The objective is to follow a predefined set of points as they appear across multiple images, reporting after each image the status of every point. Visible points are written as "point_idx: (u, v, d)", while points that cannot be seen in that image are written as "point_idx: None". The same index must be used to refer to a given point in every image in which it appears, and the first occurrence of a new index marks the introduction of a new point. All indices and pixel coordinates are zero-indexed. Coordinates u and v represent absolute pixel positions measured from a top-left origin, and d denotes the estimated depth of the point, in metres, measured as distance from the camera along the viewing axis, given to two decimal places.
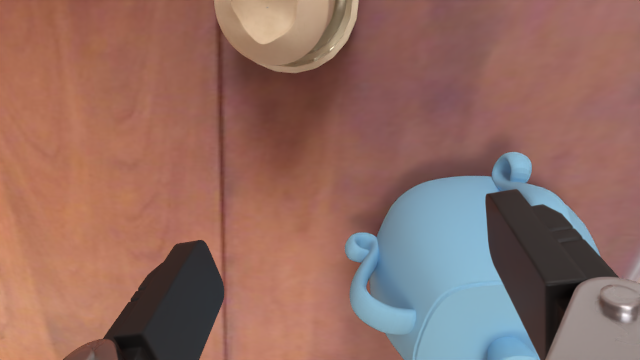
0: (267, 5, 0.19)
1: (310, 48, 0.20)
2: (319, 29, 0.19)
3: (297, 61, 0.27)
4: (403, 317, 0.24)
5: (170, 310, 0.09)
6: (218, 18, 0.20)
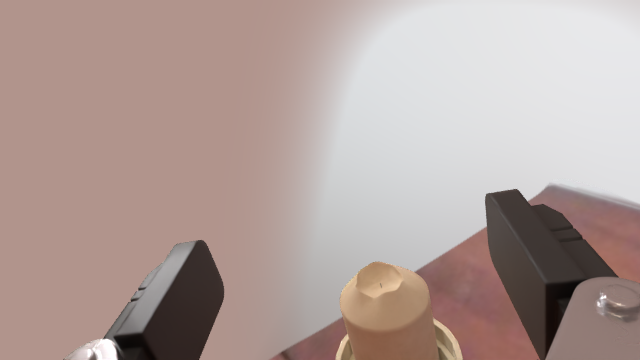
0: (380, 287, 0.25)
1: (427, 290, 0.24)
2: (419, 278, 0.25)
3: None
4: None
5: (170, 310, 0.09)
6: (357, 323, 0.23)
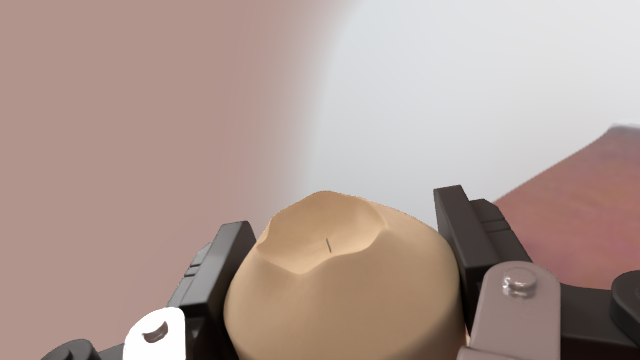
0: (327, 251, 0.09)
1: (453, 258, 0.09)
2: (431, 229, 0.10)
3: None
4: None
5: (226, 284, 0.10)
6: (252, 350, 0.08)
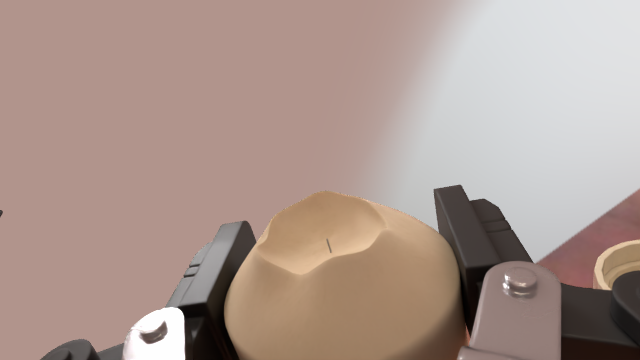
0: (327, 252, 0.09)
1: (453, 258, 0.09)
2: (432, 230, 0.10)
3: None
4: None
5: (225, 284, 0.10)
6: (252, 350, 0.08)
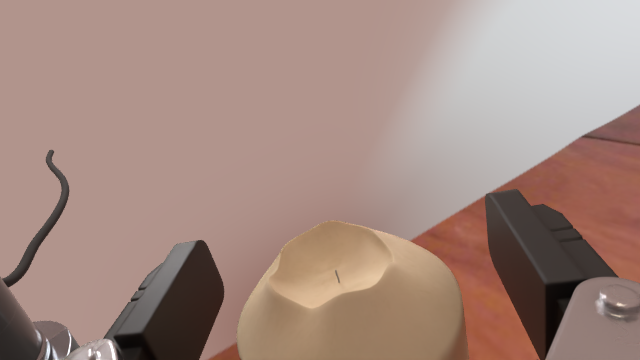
0: (336, 282, 0.10)
1: (457, 289, 0.09)
2: (436, 259, 0.10)
3: None
4: None
5: (170, 310, 0.09)
6: None
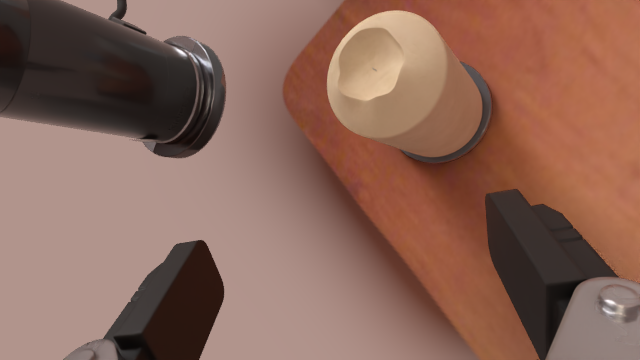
0: (374, 70, 0.17)
1: (444, 62, 0.16)
2: (434, 39, 0.16)
3: None
4: None
5: (170, 310, 0.09)
6: (351, 128, 0.18)
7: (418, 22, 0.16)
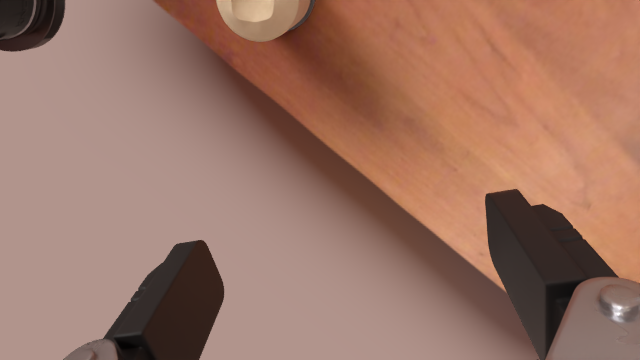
0: None
1: None
2: None
3: None
4: None
5: (170, 310, 0.09)
6: (244, 36, 0.27)
7: None
